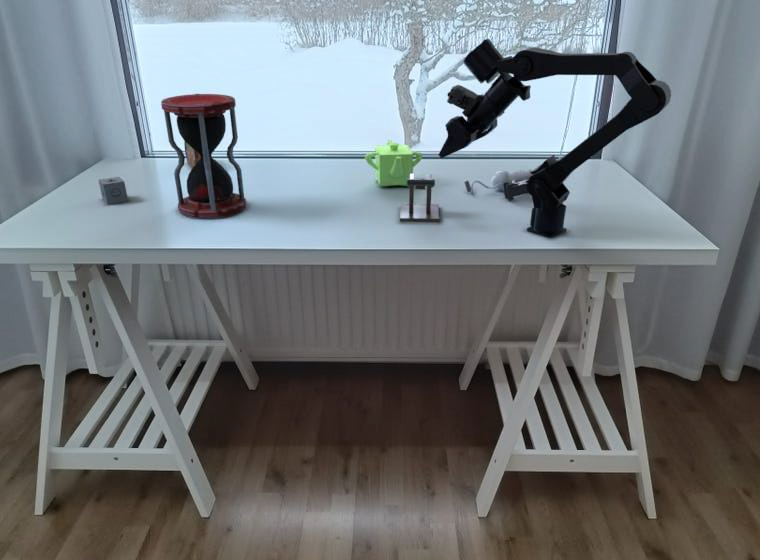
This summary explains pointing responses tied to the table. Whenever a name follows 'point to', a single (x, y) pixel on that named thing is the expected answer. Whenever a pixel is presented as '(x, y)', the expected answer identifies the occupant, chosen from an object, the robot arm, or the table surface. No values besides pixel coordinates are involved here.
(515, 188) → the clip-on lamp
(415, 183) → the tap lever
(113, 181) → the dice cube
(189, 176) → the hourglass
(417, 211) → the stand
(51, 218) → the table surface
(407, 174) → the teapot
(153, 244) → the table surface
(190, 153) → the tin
